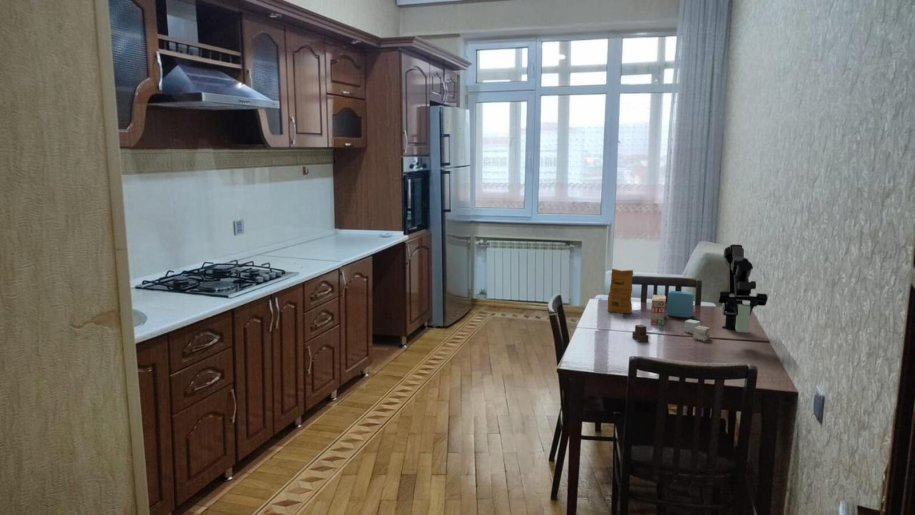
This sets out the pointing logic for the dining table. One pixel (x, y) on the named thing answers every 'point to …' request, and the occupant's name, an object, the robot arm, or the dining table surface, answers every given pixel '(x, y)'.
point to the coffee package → (620, 291)
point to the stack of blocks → (658, 310)
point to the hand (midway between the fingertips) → (743, 315)
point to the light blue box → (680, 304)
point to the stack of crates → (640, 333)
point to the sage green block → (742, 318)
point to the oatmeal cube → (701, 333)
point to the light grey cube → (691, 325)
